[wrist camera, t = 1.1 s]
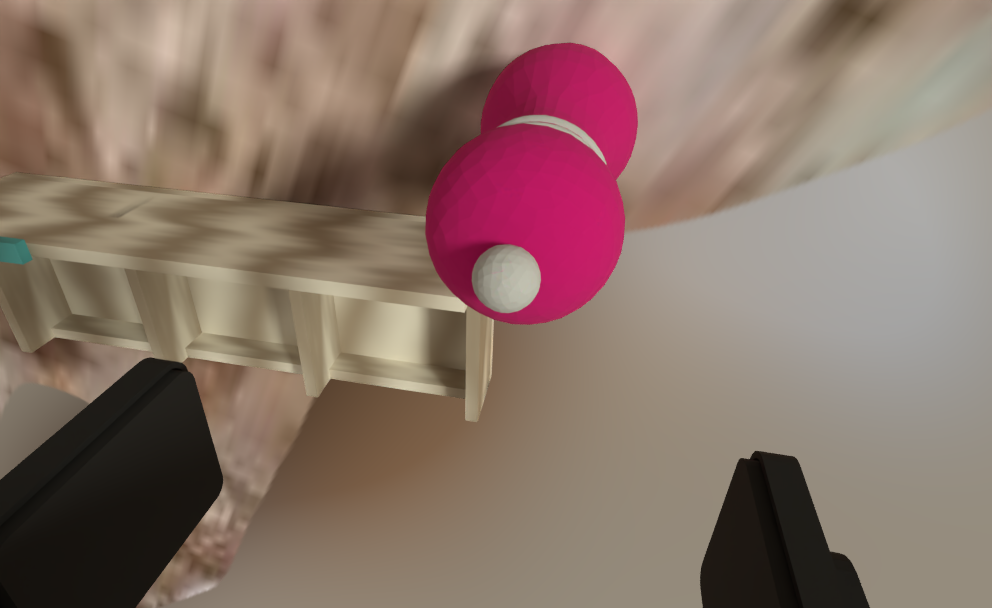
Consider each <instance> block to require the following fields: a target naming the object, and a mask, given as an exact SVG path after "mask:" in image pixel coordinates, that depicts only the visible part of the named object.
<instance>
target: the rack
mask: <svg viewBox="0 0 992 608" xmlns="http://www.w3.org/2000/svg"><path fill="white" fill-rule="evenodd" d="M425 226H426V217H423V216H414V215H405V214H396V213H386V212H377V211H368V210H359V209H350V208H340V207H331V206H322V205H313V204H304V203H294V202H285V201H276V200H267V199H258V198H248V197H239V196H230V195H221V194H212V193H202V192H193V191H184V190H175V189H166V188H156V187H147V186H138V185H129V184H120V183H110V182H101V181H92V180H83V179H74V178H65V177H55V176H46V175H37V174H28V173H19V172H15V173H13V174H10V175H7V176H5V177H2V178H0V307H1V309H2V311H3V313H4V315H5V317H6V319H7V321H8V323H9V325H10V327H11V329H12V331H13V334H14V336H15V338H16V340H17V342H18V344H19V346H20V348H21V350H22V351H23V352H30V353H32V352H34V351H35V350H37V349H38V348H40V347H41V346H43V345H44V344H45V343H47V342H48V341H50V340H51V339H53V338H54V337H57V338H64V339H71V340H77V341H84V342H91V343H97V344H104V345H111V346H117V347H124V348H131V349H137V350H144V351H151V352H152V353H153V356H154V358H157V359H163V360H170V361H176V362H181V363H182V362H183V361H184V360H185V359H186V358H187V357H190V358H197V359H204V360H210V361H217V362H224V363H230V364H237V365H244V366H250V367H257V368H264V369H270V370H277V371H284V372H290V373H297V374H303V378H304V384H305V390H306V395H307V396H313V397H318V396H319V395H320V393H321V392H322V390H323V389H324V387H325V386H326V384H327V383H328V381H329V380H330V379H337V380H343V381H350V382H357V383H364V384H371V385H377V386H383V387H391V388H397V389H403V390H410V391H417V392H423V393H430V394H437V395H443V396H450V397H457V398H463V399H466V400H465V420H467V421H474V422H478V419H479V415H480V412H481V409H482V405H483V402H484V399H485V395H486V392H487V389H488V385H489V382H490V379H491V375H492V350H493V325H494V320H493V319H491V318H489V317H487V316H485V315H482V314H480V313H478V312H477V311H475V310H473V309H472V308H470V307H469V306H467V305H465V304H464V303H463V302H462V301H461V300H460V299H459V298H458V297H456V296H455V295H454V294H453V293H452V292H451V291H450V290H449V288H448V287H447V286H446V285H445V284H444V283H443V281H442V280H441V278H440V277H439V275H438V274H437V272H436V270H435V267H434V265H433V262H432V260H431V257H430V255H429V250H428V245H427V240H426V236H425Z"/></svg>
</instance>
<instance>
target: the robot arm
mask: <svg viewBox="0 0 992 608" xmlns="http://www.w3.org/2000/svg"><path fill="white" fill-rule="evenodd" d="M222 485H223V475H222V472H221V468H220V465H219V461H218V458H217V455H216V451H215V448H214V444H213V441H212V437H211V434H210V430H209V427H208V423H207V420H206V416H205V413H204V410H203V406H202V403H201V399H200V396H199V392H198V389H197V385H196V382H195V378H194V376H193V374H191V373H190V372H188V370H187V368H186V366H185V365H184V364H183V363H181V362H176V361H170V360H163V359H157V358H146V359H144V360H142V361H140V362H139V363H138V364H137V365H135V366H134V367H133V368H132V369H131V370H129V371H128V372H127V373H126V374H125V375H124V376H122V377H121V378H120V379H119V380H118V381H116V382H115V383H114V384H113V385H112V386H111V387H109V388H108V389H107V390H106V391H105V392H103V393H102V394H101V395H100V396H99V397H98V398H96V399H95V400H94V401H93V402H92V403H90V404H89V405H88V406H87V407H86V408H85V409H83V410H82V411H81V412H80V413H79V414H77V415H76V416H75V417H74V418H73V419H72V420H70V421H69V422H68V423H67V424H66V425H64V426H63V427H62V428H61V429H60V430H59V431H57V432H56V433H55V434H54V435H53V436H52V437H50V438H49V439H48V440H47V441H46V442H44V443H43V444H42V445H41V446H40V447H39V448H37V449H36V450H35V451H34V452H33V453H31V454H30V455H29V456H28V457H27V458H26V459H25V460H23V461H22V462H21V463H20V464H18V466H16V467H15V468H14V469H13V470H11V471H10V472H9V473H8V474H7V475H5V476H4V477H3V478H2V479H1V480H0V608H136V606H137V605H138V604H139V602H140V601H141V600H142V598H143V597H144V596H145V594H146V593H147V591H148V590H149V589H150V587H151V586H152V585H153V583H154V582H155V581H156V579H157V578H158V577H159V575H160V574H161V573H162V571H163V570H164V569H165V567H166V566H167V565H168V563H169V562H170V561H171V559H172V558H173V557H174V555H175V554H176V553H177V551H178V550H179V548H180V547H181V546H182V544H183V543H184V542H185V540H186V539H187V538H188V536H189V535H190V534H191V532H192V531H193V530H194V528H195V527H196V526H197V524H198V523H199V522H200V520H201V519H202V518H203V516H204V515H205V514H206V512H207V511H208V510H209V508H210V507H211V505H212V504H213V503H214V501H215V500H216V499H217V497H218V496H219V494H220V491H221V489H222ZM700 586H701V596H702V604H703V608H870V607H869V604H868V602H867V599H866V596H865V594H864V591H863V588H862V586H861V583H860V580H859V578H858V575H857V573H856V571H855V569H854V567H853V565H852V563H851V561H850V560H849V559H848V558H847V557H846V556H845V555H843V554H840V553H835V552H830V551H829V548H828V545H827V542H826V539H825V537H824V533H823V530H822V527H821V525H820V522H819V519H818V516H817V513H816V510H815V507H814V504H813V502H812V499H811V496H810V493H809V490H808V487H807V484H806V481H805V478H804V475H803V473H802V470H801V467H800V464H799V462H798V460H797V459H796V458H795V457H793V456H787V455H780V454H774V453H767V452H761V451H755V452H754V453H753V454H752V456H751V458H750V459H744V458H741V459H740V460H739V461H738V463H737V466H736V469H735V472H734V475H733V477H732V480H731V483H730V486H729V489H728V492H727V494H726V497H725V500H724V503H723V506H722V509H721V511H720V514H719V517H718V520H717V523H716V526H715V528H714V532H713V535H712V537H711V540H710V543H709V546H708V548H707V551H706V554H705V557H704V560H703V563H702V567H701V575H700Z"/></svg>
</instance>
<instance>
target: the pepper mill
mask: <svg viewBox="0 0 992 608" xmlns="http://www.w3.org/2000/svg"><path fill="white" fill-rule="evenodd" d="M637 126H638V118H637V108H636V103H635V99H634V96H633V93H632V90H631V88H630V86H629V84H628V82H627V81H626V79H625V77H624V76H623V75H622V73H621V72H620V71H619V70H618V68H617V67H616V66H615V65H614V64H612V63H611V62H610V61H609V60H608V59H607V58H606V57H605V56H604V55H602V54H601V53H599V52H598V51H596V50H595V49H592V48H590V47H587V46H584V45H581V44H575V43H561V44H551V45H544V46H541V47H538V48H535V49H532V50H529V51H528V52H526V53H524V54H523V55H521V56H519V57H517V58H516V59H515V60H514V61H512V62H511V63H510V64H509V65H508V66H507V67H506V68H505V69H504V70H503V71H502V72H501V74H500V75H499V76H498V78H497V79H496V81H495V83H494V84H493V86H492V88H491V89H490V92H489V94H488V97H487V99H486V102H485V105H484V108H483V112H482V118H481V135H479V136H477V137H476V138H474V139H472V140H471V141H469V142H467V143H466V144H464V145H463V146H462V147H461V148H460V149H459V150H458V151H457V152H456V153H455V154H454V155H453V156H452V157H451V159H450V160H449V161H448V162H447V163H446V164H445V165H444V166H443V168H442V170H441V172H440V174H439V175H438V177H437V179H436V181H435V183H434V185H433V187H432V190H431V193H430V196H429V200H428V206H427V211H426V226H425V236H426V240H427V245H428V250H429V255H430V257H431V260H432V262H433V265H434V267H435V270H436V272H437V274H438V275H439V277H440V278H441V280H442V281H443V283H444V284H445V285H446V286H447V287H448V288H449V290H450V291H451V292H452V293H453V294H454V295H455V296H456V297H458V298H459V299H460V300H461V301H462V302H463V303H464V304H465V305H467V306H469V307H470V308H472V309H473V310H475V311H477V312H478V313H480V314H482V315H485V316H487V317H489V318H491V319H493V320H497V321H502V322H507V323H510V324H527V325H528V324H529V325H530V324H538V323H546V322H549V321H553V320H556V319H560V318H562V317H564V316H566V315H568V314H570V313H572V312H573V311H575V310H577V309H579V308H581V307H582V306H583V305H584V304H586V303H587V302H588V301H590V300H591V299H592V298H593V297H594V296H595V294H596V293H597V292H598V291H599V290H600V289H601V288H602V287H603V286H604V285H605V283H606V281H607V280H608V278H609V277H610V275H611V273H612V272H613V270H614V268H615V266H616V264H617V261H618V259H619V256H620V254H621V250H622V244H623V240H624V227H625V215H624V208H623V202H622V198H621V195H620V192H619V188H618V185H617V182H616V179H617V178H618V177H619V175H620V174H621V172H622V171H623V170H624V168H625V167H626V165H627V163H628V161H629V159H630V157H631V154H632V151H633V147H634V144H635V140H636V134H637Z"/></svg>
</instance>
